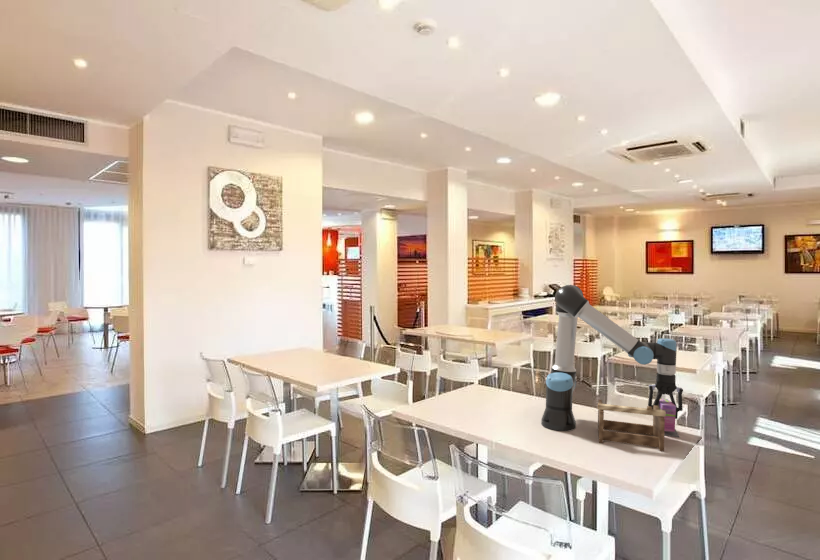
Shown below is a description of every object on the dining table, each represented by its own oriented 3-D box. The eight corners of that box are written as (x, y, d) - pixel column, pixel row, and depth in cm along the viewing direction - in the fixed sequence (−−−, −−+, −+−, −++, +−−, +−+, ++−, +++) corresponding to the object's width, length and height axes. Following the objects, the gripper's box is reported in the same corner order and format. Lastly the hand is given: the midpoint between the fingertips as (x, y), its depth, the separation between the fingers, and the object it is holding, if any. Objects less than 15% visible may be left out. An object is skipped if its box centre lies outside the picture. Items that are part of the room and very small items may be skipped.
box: (675, 432, 205) (676, 405, 205) (661, 431, 206) (661, 404, 206) (667, 424, 215) (668, 398, 215) (654, 423, 216) (654, 398, 216)
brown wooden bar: (597, 409, 198) (597, 402, 198) (597, 407, 201) (597, 400, 201) (665, 416, 189) (665, 409, 189) (664, 414, 192) (664, 407, 192)
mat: (653, 434, 207) (653, 433, 207) (650, 426, 218) (650, 425, 218) (679, 437, 204) (679, 436, 204) (674, 429, 214) (674, 428, 214)
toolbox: (599, 442, 196) (599, 411, 195) (597, 427, 215) (598, 399, 214) (663, 451, 187) (664, 419, 187) (656, 435, 206) (657, 405, 206)
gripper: (643, 373, 210) (641, 424, 211) (692, 377, 203) (690, 430, 204) (641, 369, 217) (639, 419, 218) (688, 373, 210) (686, 424, 211)
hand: (664, 424), depth 211 cm, fingers closed on box, 6 cm apart
